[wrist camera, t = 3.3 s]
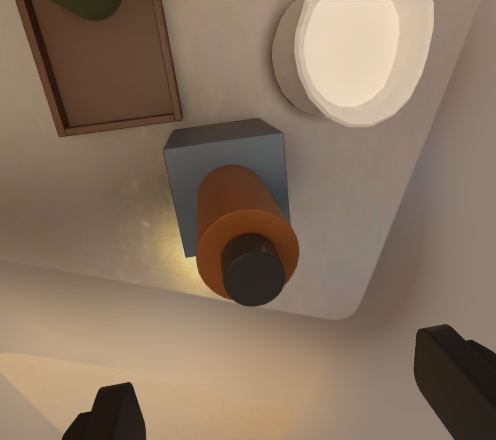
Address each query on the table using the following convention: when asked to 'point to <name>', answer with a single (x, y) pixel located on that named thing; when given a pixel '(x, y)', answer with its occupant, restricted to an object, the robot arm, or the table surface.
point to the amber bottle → (242, 237)
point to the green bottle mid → (90, 8)
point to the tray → (103, 66)
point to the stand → (220, 154)
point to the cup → (352, 56)
